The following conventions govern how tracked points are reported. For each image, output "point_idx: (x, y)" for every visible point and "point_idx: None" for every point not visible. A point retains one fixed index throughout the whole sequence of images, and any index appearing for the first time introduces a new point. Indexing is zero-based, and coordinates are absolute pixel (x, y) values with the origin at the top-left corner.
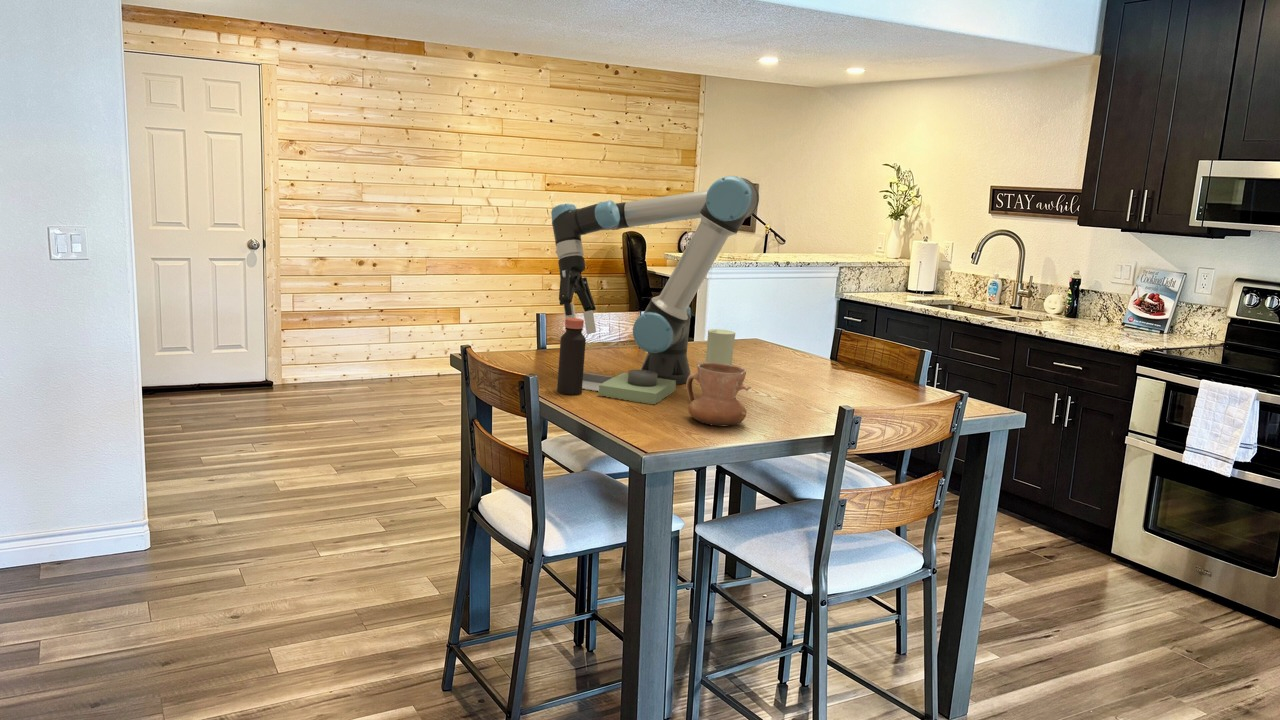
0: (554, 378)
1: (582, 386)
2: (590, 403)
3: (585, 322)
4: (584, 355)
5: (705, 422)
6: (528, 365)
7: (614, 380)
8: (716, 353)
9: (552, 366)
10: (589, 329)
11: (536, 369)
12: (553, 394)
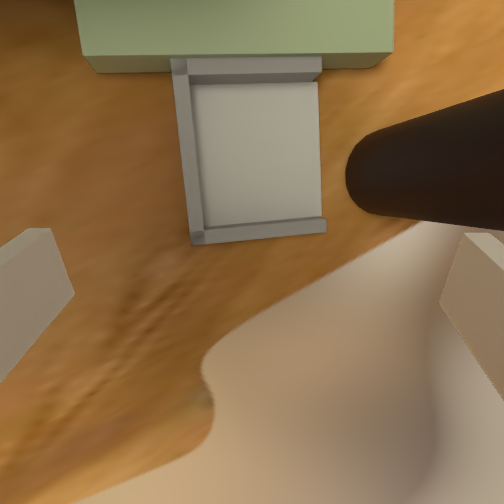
0: (226, 311)
1: (296, 167)
2: (474, 50)
3: (9, 365)
4: (491, 93)
5: None
6: (101, 481)
7: (274, 27)
8: None
9: (40, 422)
10: (47, 289)
11: (140, 427)
12: None
